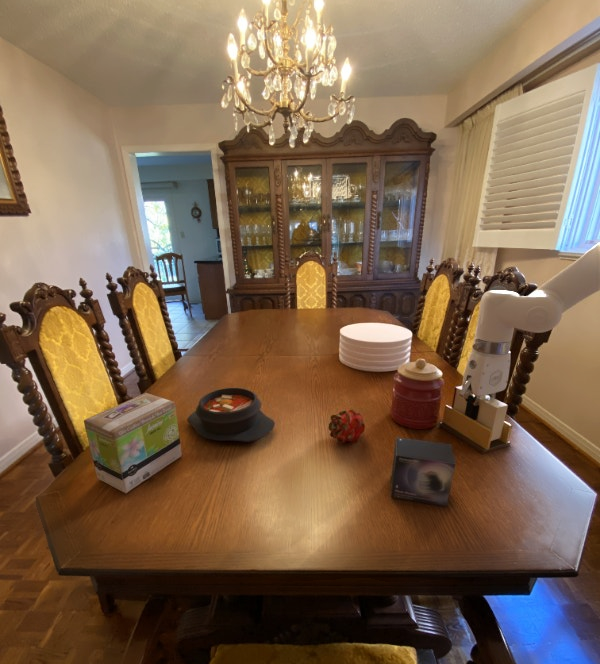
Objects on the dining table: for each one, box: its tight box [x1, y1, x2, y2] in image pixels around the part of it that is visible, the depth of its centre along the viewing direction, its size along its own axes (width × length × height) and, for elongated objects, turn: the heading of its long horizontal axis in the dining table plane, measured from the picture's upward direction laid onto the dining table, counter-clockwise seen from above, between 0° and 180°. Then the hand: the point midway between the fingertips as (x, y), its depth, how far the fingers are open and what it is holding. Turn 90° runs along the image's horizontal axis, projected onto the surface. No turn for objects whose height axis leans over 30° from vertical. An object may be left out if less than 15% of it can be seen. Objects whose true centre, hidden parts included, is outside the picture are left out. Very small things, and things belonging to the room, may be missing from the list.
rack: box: [438, 404, 513, 455], centre depth 87 cm, size 9×14×6 cm, turn 23°
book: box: [451, 385, 509, 441], centre depth 86 cm, size 4×12×9 cm, turn 23°
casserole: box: [186, 387, 276, 443], centre depth 92 cm, size 25×19×8 cm
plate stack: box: [338, 322, 413, 373], centre depth 139 cm, size 28×28×12 cm
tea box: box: [83, 392, 183, 494], centre depth 75 cm, size 15×10×15 cm
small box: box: [390, 437, 457, 508], centre depth 67 cm, size 11×6×10 cm, turn 76°
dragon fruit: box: [327, 409, 366, 444], centre depth 87 cm, size 8×8×12 cm
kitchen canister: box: [390, 358, 446, 430], centre depth 93 cm, size 13×13×18 cm
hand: (477, 415), depth 86 cm, fingers closed on book, 3 cm apart
